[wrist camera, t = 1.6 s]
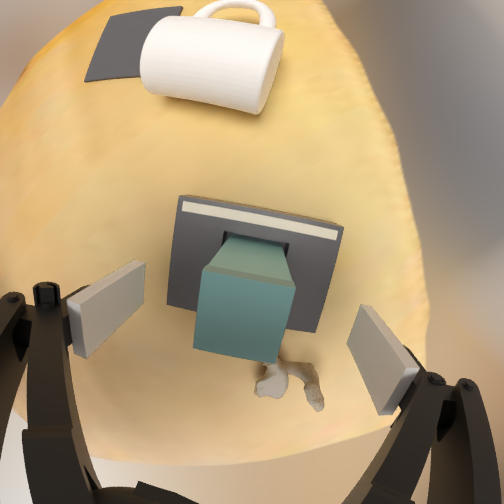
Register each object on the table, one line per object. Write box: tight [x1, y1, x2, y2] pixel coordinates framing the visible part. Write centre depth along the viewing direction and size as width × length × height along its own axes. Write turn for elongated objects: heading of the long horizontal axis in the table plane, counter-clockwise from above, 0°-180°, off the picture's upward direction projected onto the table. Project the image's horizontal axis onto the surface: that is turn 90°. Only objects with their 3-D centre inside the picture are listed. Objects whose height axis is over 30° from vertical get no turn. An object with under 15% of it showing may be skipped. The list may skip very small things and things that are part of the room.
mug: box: [140, 0, 285, 115], centre depth 18 cm, size 12×10×8 cm
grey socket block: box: [167, 195, 344, 333], centre depth 24 cm, size 14×10×3 cm
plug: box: [193, 233, 296, 364], centre depth 19 cm, size 5×5×12 cm
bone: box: [254, 356, 324, 412], centre depth 24 cm, size 9×6×10 cm
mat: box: [84, 6, 183, 82], centre depth 21 cm, size 10×10×1 cm
